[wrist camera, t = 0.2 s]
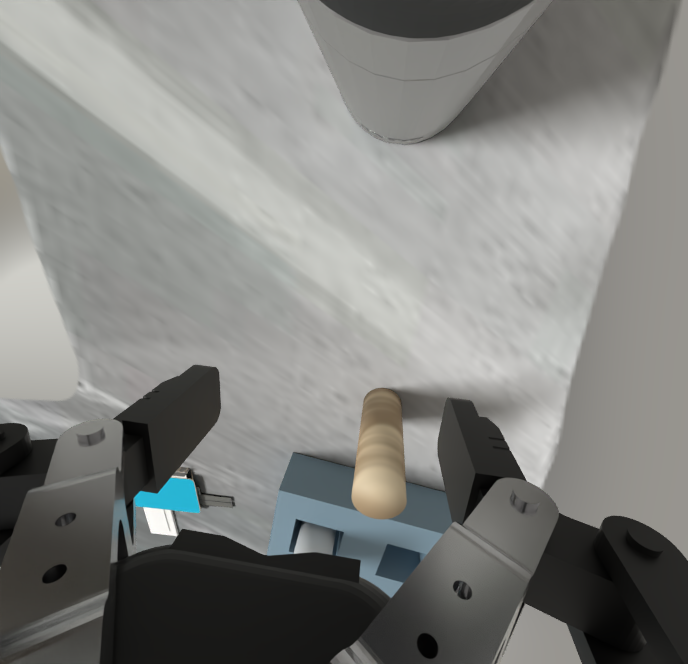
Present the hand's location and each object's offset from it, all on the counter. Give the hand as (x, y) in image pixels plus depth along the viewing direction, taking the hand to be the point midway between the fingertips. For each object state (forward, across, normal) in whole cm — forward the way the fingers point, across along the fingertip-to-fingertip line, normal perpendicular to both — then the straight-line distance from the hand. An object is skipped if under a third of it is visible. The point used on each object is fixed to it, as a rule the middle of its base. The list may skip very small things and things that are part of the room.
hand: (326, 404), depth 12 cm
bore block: (+19, -2, +25) cm, 31 cm away
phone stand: (+20, +23, +28) cm, 41 cm away
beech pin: (+18, -3, +11) cm, 21 cm away
